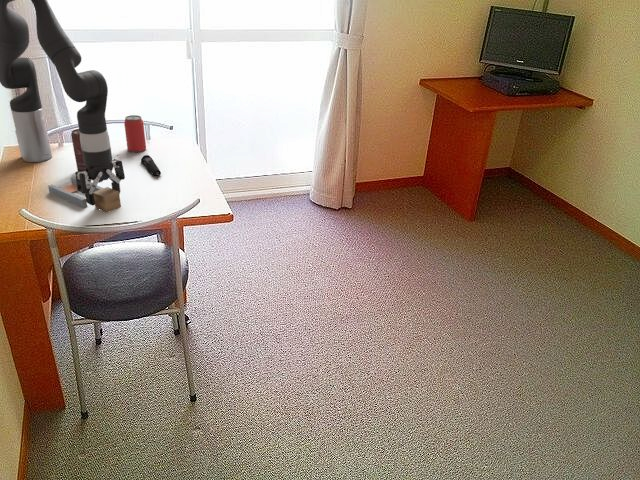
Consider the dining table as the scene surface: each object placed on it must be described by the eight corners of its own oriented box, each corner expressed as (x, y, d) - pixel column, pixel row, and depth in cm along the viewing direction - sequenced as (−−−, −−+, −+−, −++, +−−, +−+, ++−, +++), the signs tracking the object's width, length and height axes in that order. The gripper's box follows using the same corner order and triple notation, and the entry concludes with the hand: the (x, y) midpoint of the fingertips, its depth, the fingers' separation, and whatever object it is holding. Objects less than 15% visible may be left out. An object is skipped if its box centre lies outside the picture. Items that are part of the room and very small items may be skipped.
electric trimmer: (152, 179, 178) (151, 170, 176) (140, 162, 189) (139, 153, 188) (163, 177, 180) (163, 169, 178) (151, 161, 191) (150, 152, 189)
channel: (49, 193, 164) (47, 185, 163) (75, 183, 171) (74, 176, 170) (83, 207, 157) (82, 200, 156) (109, 197, 164) (108, 189, 162)
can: (91, 176, 176) (84, 135, 169) (74, 173, 177) (66, 132, 170) (102, 169, 181) (95, 129, 175) (84, 167, 182) (77, 126, 175)
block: (95, 208, 158) (92, 192, 155) (109, 202, 161) (107, 186, 159) (106, 212, 155) (104, 197, 153) (121, 206, 159) (118, 191, 157)
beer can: (124, 151, 197) (120, 119, 191) (132, 145, 202) (128, 113, 196) (141, 153, 196) (137, 121, 190) (149, 147, 201) (146, 115, 196)
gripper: (82, 156, 142) (91, 211, 150) (126, 142, 153) (132, 194, 161) (64, 150, 146) (74, 204, 154) (108, 136, 156) (115, 188, 164)
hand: (104, 199), depth 157 cm, fingers open, 8 cm apart
